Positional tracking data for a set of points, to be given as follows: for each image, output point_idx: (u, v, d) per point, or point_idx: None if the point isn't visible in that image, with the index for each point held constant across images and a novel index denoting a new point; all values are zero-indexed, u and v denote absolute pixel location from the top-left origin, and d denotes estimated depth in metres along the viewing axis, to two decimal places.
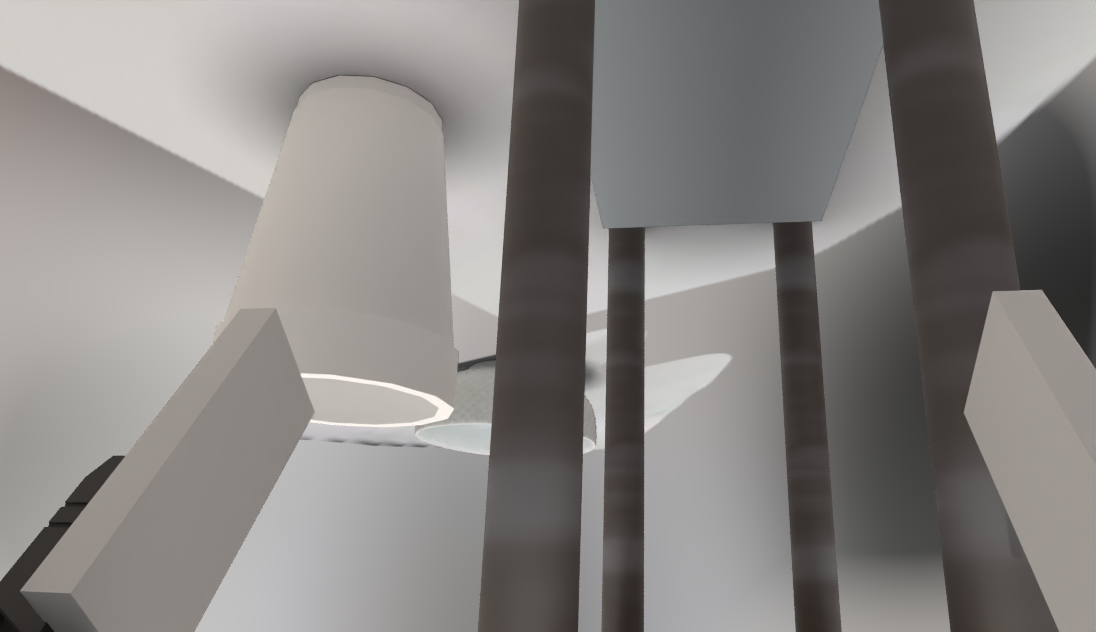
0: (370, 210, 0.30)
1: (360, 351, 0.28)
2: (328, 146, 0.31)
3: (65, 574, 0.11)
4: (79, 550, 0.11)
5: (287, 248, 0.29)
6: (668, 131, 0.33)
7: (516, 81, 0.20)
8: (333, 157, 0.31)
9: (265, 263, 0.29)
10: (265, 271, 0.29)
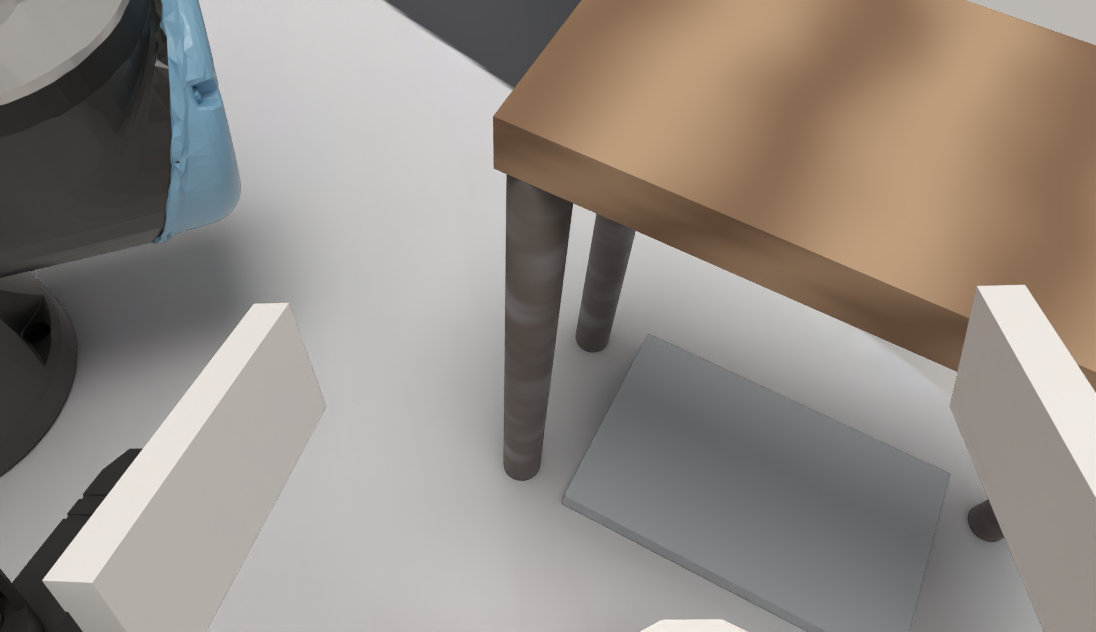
0: None
1: None
2: None
3: (87, 564, 0.11)
4: (100, 541, 0.11)
5: None
6: (749, 514, 0.41)
7: (506, 416, 0.37)
8: None
9: None
10: None
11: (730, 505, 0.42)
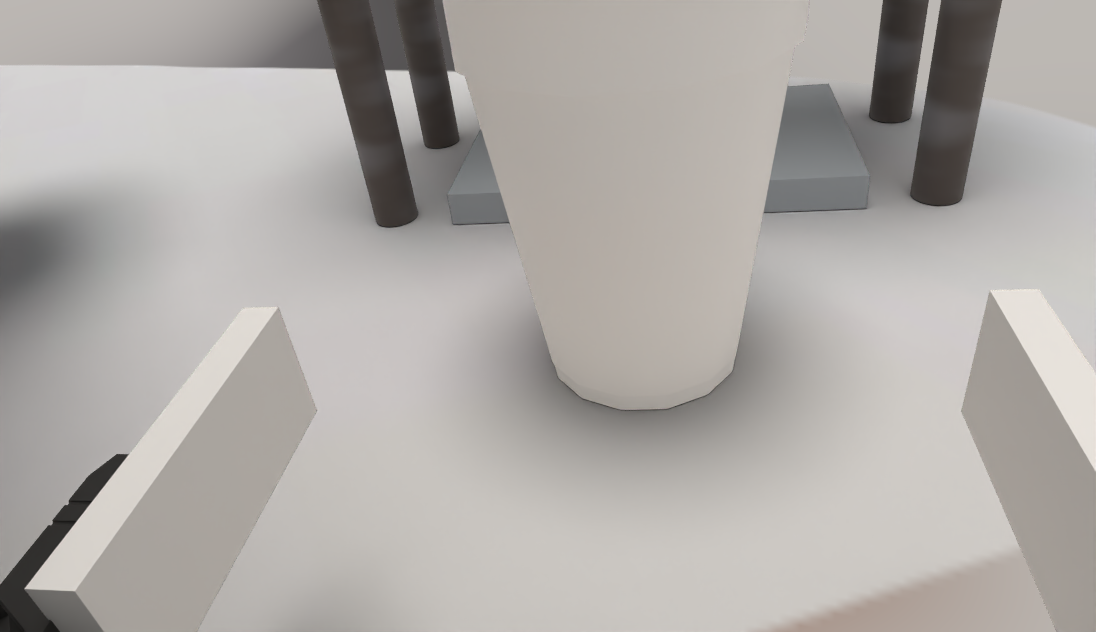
0: None
1: None
2: None
3: (70, 572, 0.11)
4: (83, 548, 0.11)
5: None
6: None
7: (337, 61, 0.33)
8: None
9: None
10: None
11: None
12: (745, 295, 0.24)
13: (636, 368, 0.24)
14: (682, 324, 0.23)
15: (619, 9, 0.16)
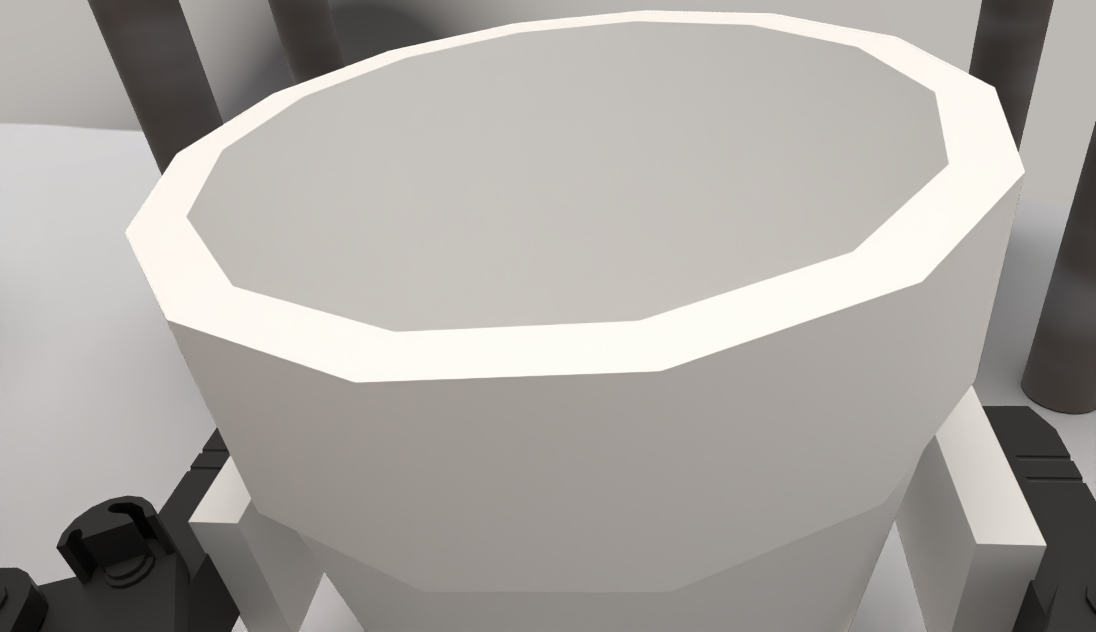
0: None
1: None
2: None
3: (229, 507, 0.11)
4: (237, 486, 0.12)
5: None
6: None
7: None
8: None
9: None
10: None
11: None
12: None
13: None
14: None
15: (518, 437, 0.06)
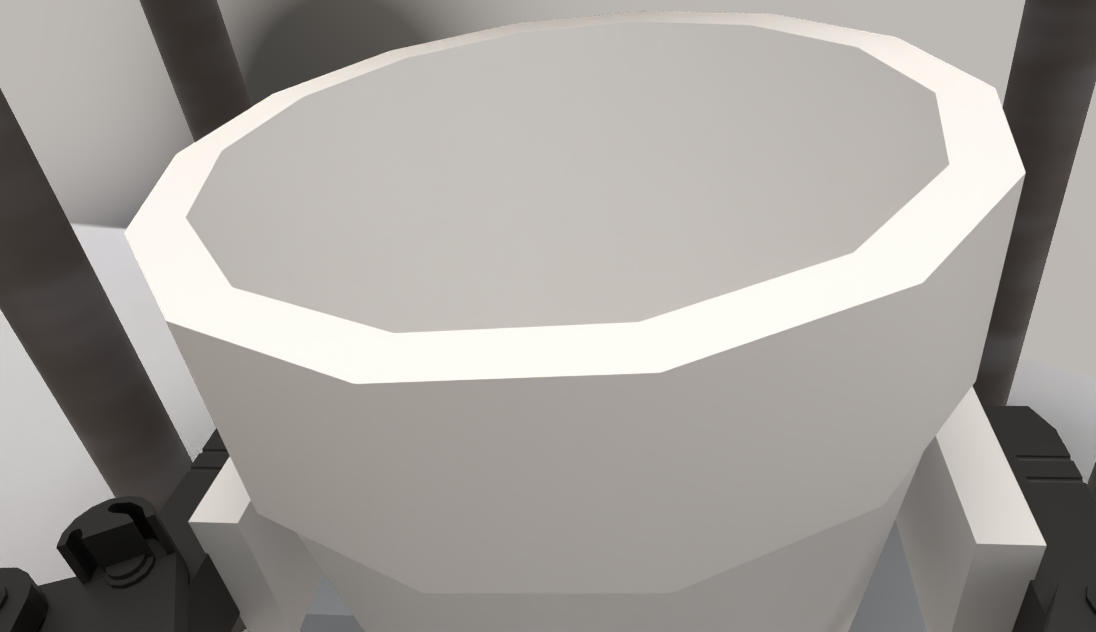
0: None
1: None
2: None
3: (229, 507, 0.11)
4: (237, 486, 0.12)
5: None
6: None
7: (87, 450, 0.20)
8: None
9: None
10: None
11: None
12: None
13: None
14: None
15: (518, 438, 0.06)
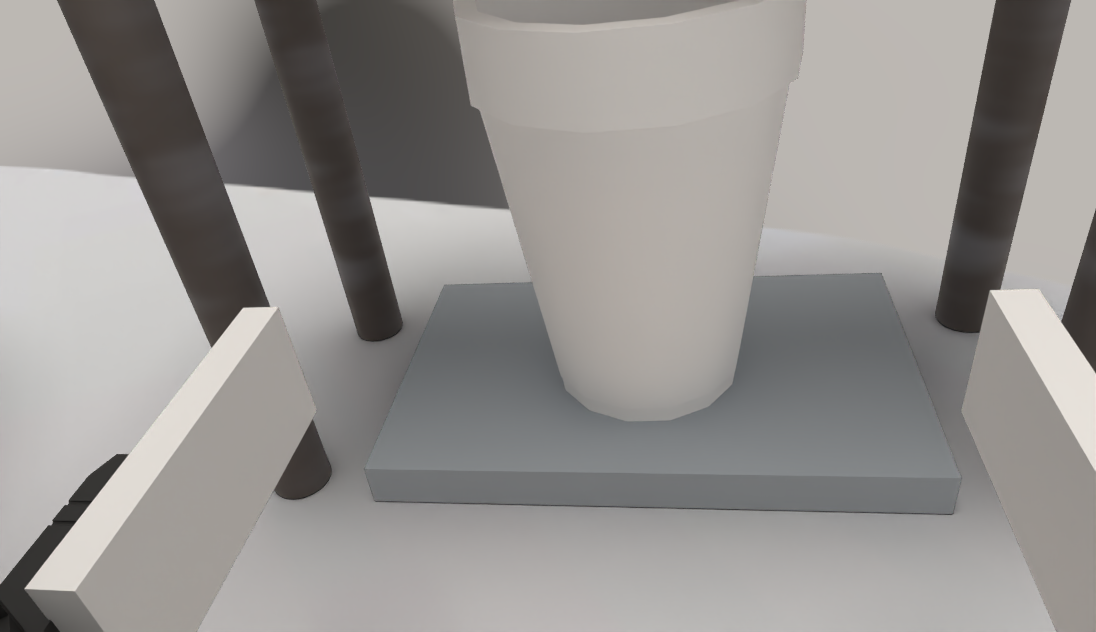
0: None
1: None
2: None
3: (70, 572, 0.11)
4: (83, 548, 0.11)
5: None
6: None
7: (197, 311, 0.23)
8: None
9: None
10: None
11: None
12: (744, 312, 0.25)
13: (641, 382, 0.25)
14: (685, 341, 0.24)
15: (626, 53, 0.18)
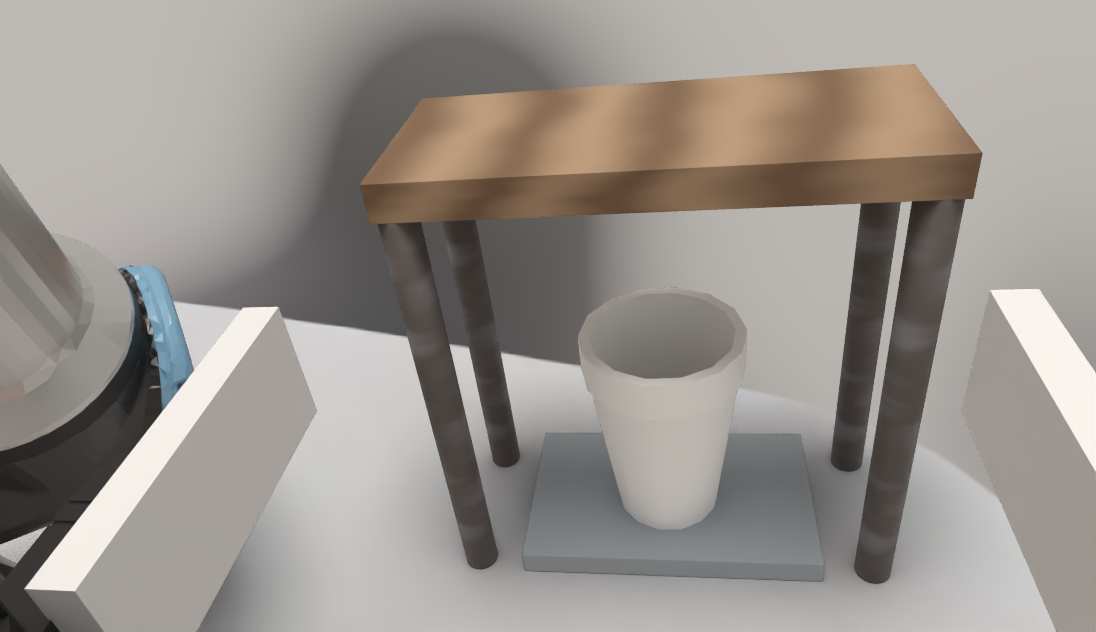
0: None
1: None
2: None
3: (70, 572, 0.11)
4: (83, 548, 0.11)
5: (595, 405, 0.48)
6: None
7: (449, 482, 0.47)
8: None
9: (596, 409, 0.47)
10: None
11: None
12: (719, 476, 0.49)
13: (666, 512, 0.49)
14: (689, 494, 0.48)
15: (664, 393, 0.41)
